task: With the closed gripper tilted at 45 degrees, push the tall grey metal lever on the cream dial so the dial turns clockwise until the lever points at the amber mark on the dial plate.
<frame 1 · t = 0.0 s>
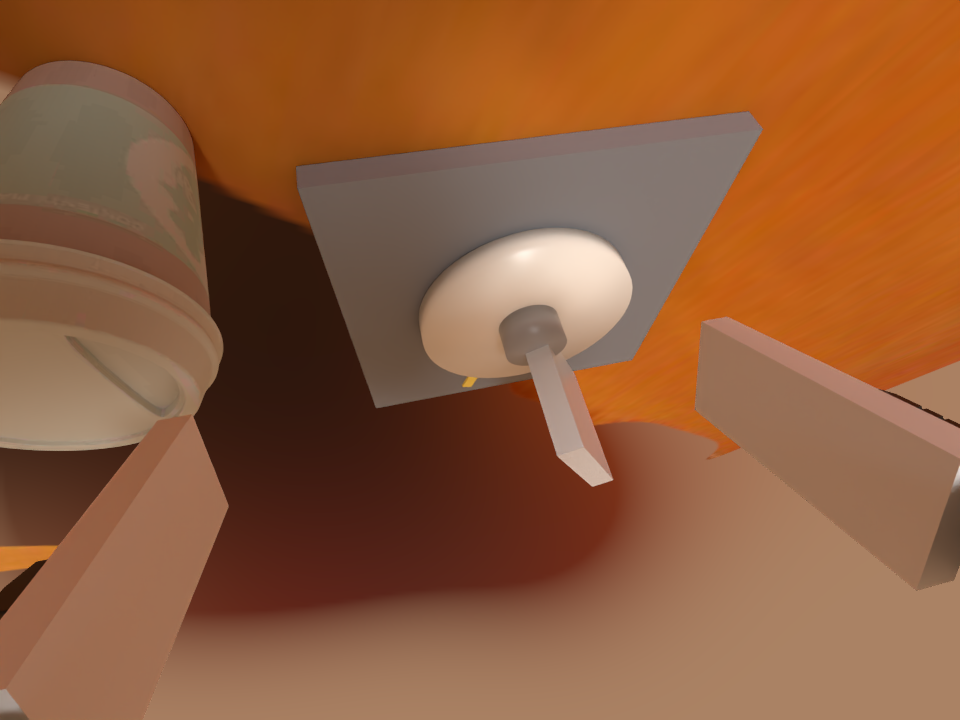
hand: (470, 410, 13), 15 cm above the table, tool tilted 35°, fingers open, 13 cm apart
dial plate: (515, 286, 34), on the table
coffee cup: (111, 130, 20), on the table
dial: (550, 381, 32), point 7 cm above the table, hinge at 0.0°
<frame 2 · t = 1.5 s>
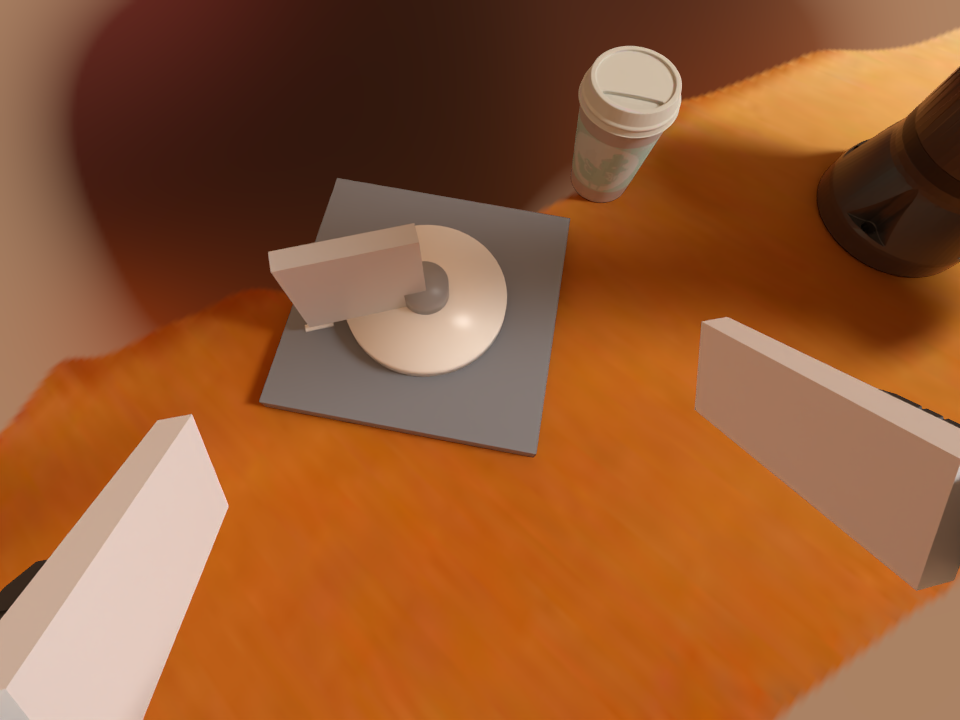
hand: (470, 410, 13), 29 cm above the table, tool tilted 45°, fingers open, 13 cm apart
dial plate: (428, 310, 46), on the table
coffee cup: (598, 181, 52), on the table
dial: (403, 275, 39), point 7 cm above the table, hinge at 0.0°
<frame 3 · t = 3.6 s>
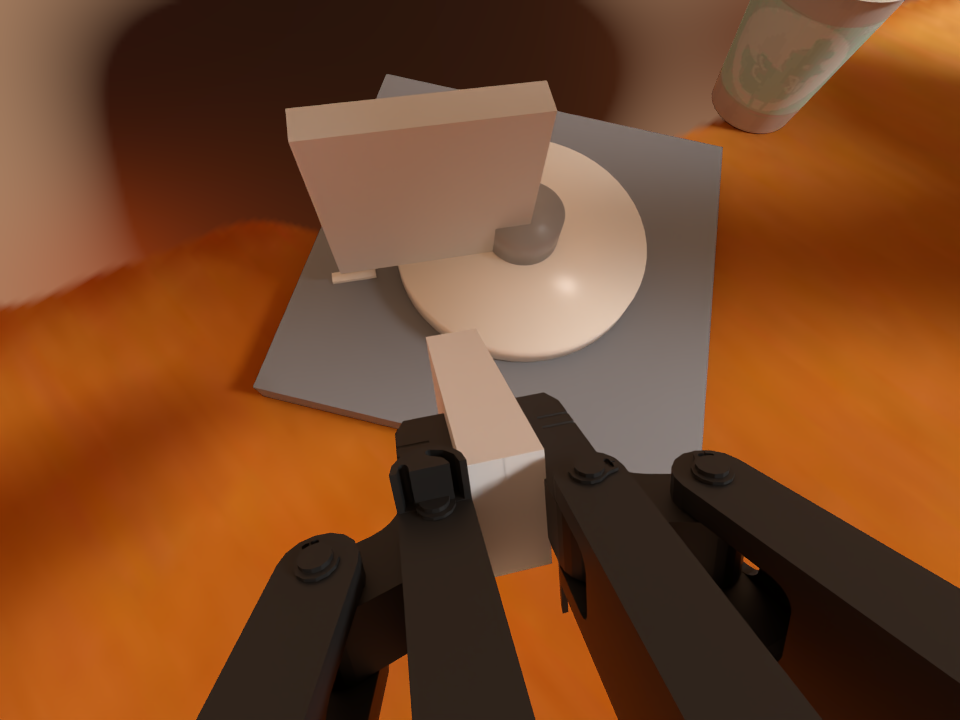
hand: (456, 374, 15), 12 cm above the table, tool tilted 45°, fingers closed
dial plate: (515, 265, 31), on the table
coffee cup: (748, 106, 37), on the table
dial: (501, 192, 24), point 7 cm above the table, hinge at 0.0°
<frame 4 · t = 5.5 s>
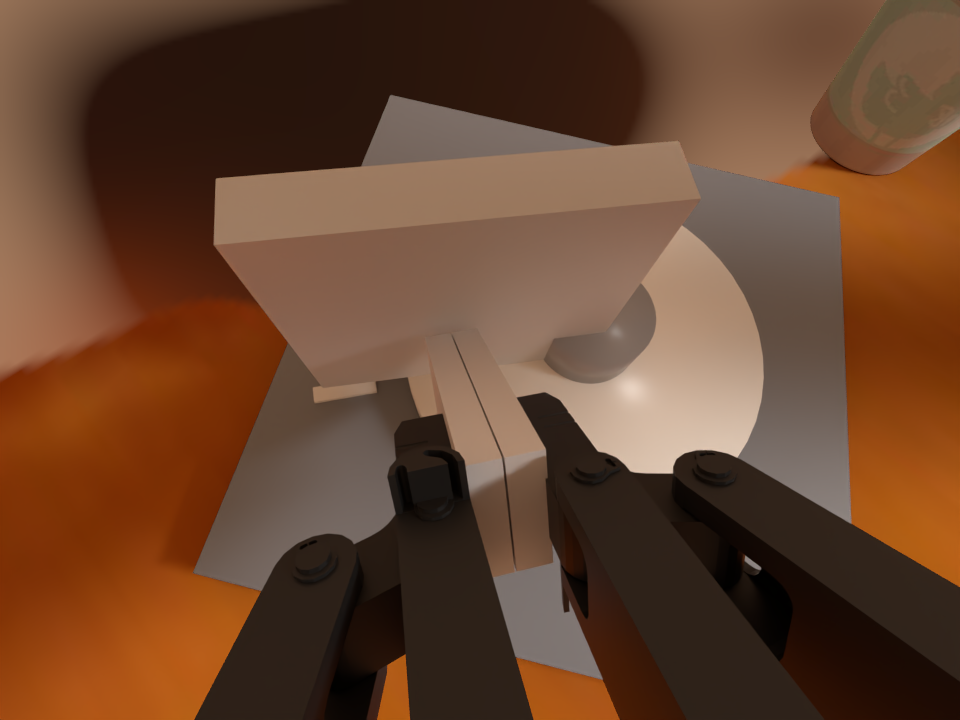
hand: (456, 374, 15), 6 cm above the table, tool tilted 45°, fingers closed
dial plate: (567, 363, 22), on the table
coffee cup: (857, 138, 29), on the table
dial: (569, 292, 16), point 7 cm above the table, hinge at -2.7°, touching gripper
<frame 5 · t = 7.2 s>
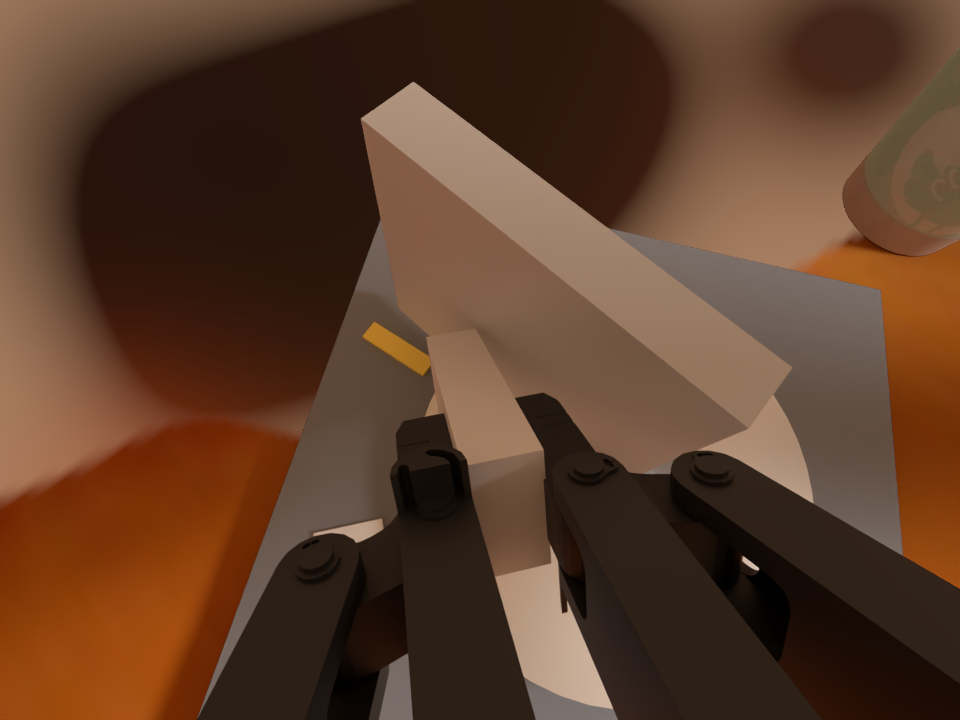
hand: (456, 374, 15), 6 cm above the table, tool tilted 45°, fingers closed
dial plate: (591, 484, 20), on the table
coffee cup: (892, 213, 27), on the table
dial: (615, 416, 14), point 7 cm above the table, hinge at -54.8°, touching gripper
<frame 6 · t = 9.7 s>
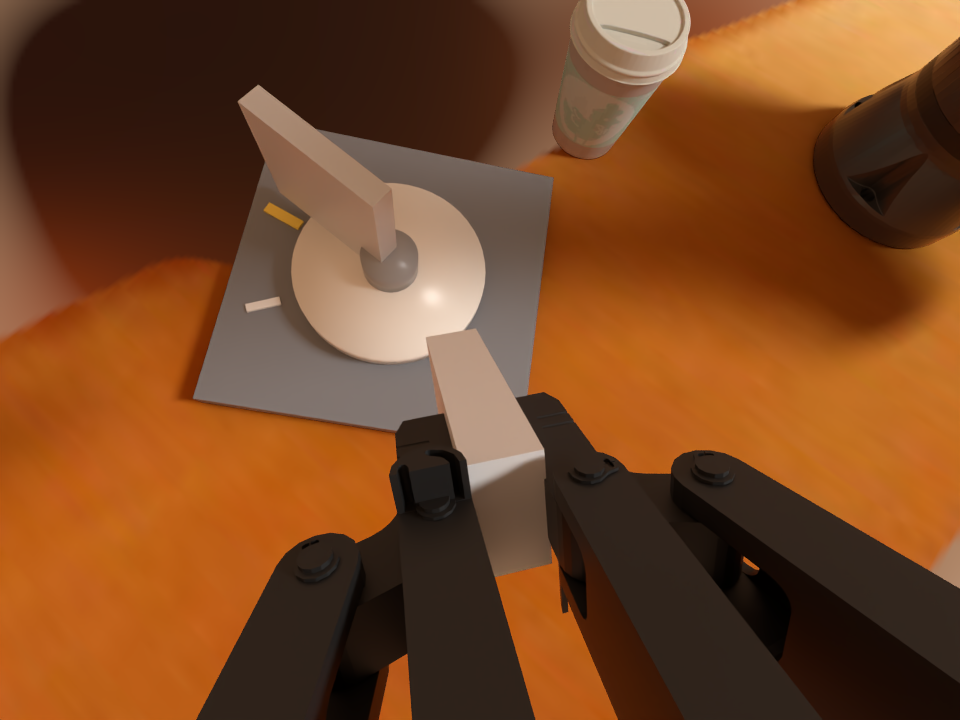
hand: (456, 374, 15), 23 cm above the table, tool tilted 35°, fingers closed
dial plate: (392, 284, 40), on the table
coffee cup: (582, 133, 46), on the table
dial: (370, 228, 33), point 7 cm above the table, hinge at -54.8°
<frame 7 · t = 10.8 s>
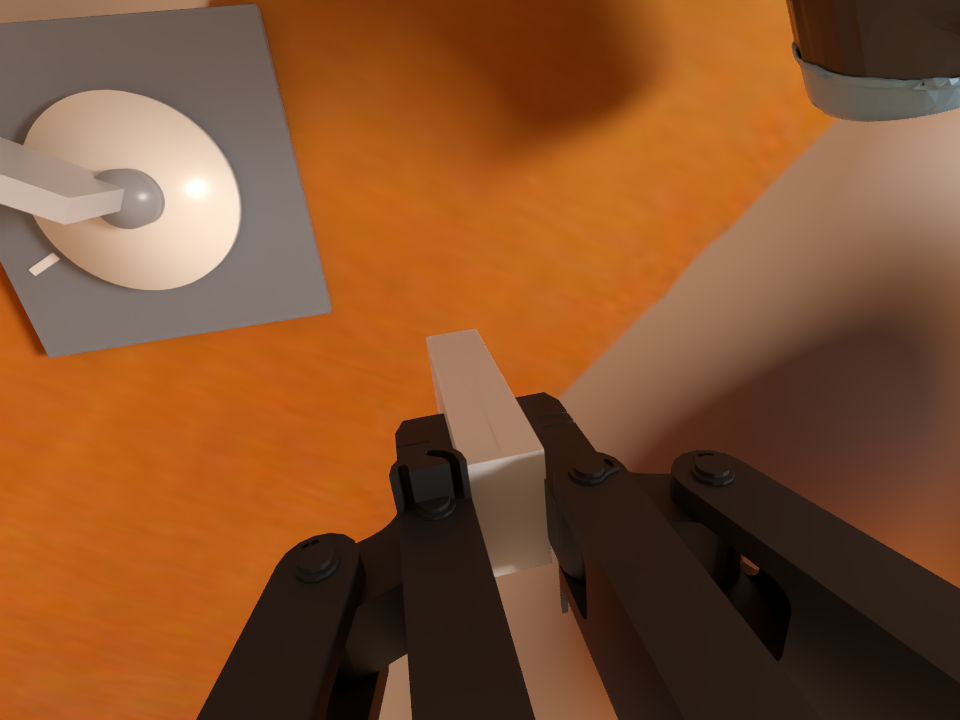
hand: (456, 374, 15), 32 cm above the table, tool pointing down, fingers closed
dial plate: (151, 193, 40), on the table
dial: (84, 193, 33), point 7 cm above the table, hinge at -54.8°
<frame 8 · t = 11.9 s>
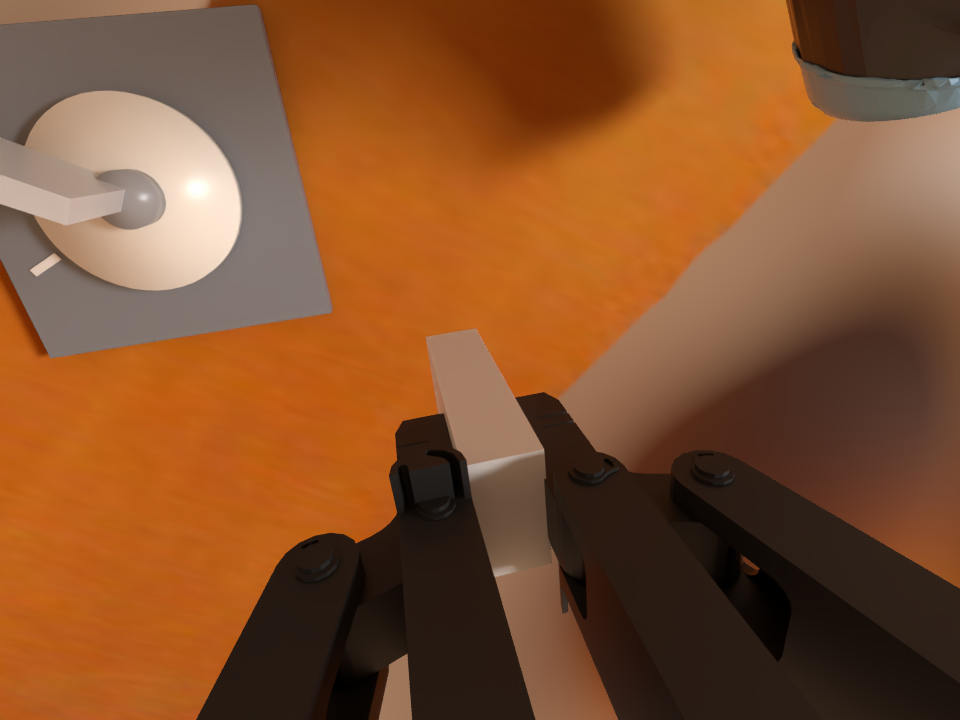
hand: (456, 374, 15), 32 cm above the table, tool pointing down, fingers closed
dial plate: (152, 194, 40), on the table
dial: (85, 194, 33), point 7 cm above the table, hinge at -54.8°
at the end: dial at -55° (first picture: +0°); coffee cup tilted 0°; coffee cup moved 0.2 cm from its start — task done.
